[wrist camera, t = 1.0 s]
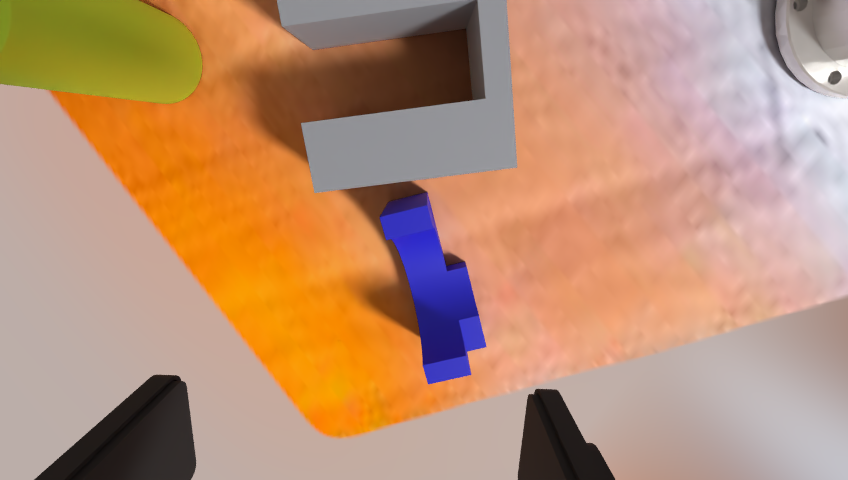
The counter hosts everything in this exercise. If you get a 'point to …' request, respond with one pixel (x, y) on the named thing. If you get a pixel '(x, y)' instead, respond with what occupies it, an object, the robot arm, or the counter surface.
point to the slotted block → (417, 127)
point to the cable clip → (434, 289)
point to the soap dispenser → (98, 49)
